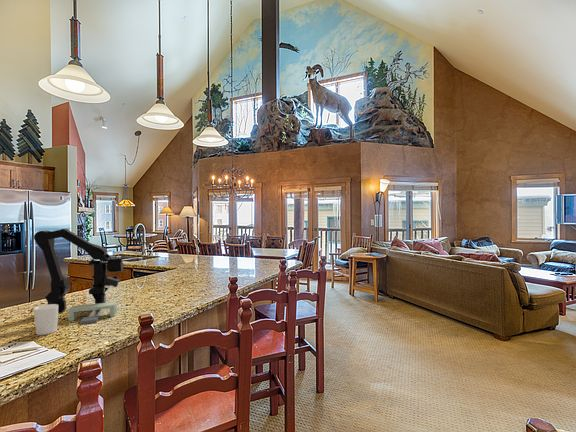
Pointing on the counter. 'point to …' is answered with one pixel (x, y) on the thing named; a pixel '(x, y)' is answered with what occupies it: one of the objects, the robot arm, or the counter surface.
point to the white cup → (46, 319)
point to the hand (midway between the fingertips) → (100, 304)
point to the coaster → (89, 320)
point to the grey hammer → (97, 312)
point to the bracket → (74, 309)
